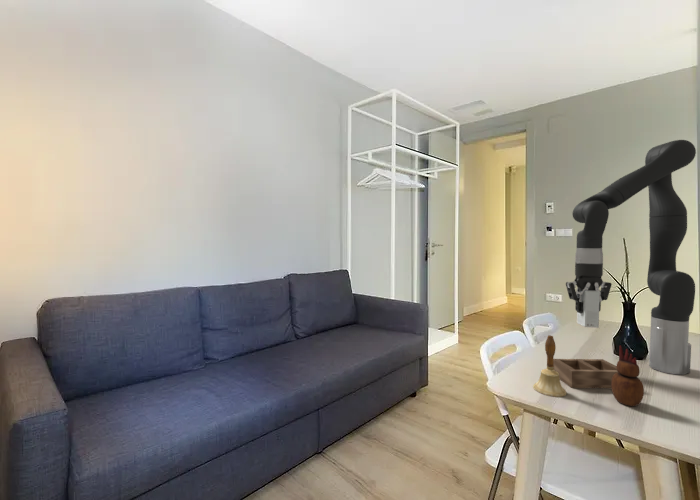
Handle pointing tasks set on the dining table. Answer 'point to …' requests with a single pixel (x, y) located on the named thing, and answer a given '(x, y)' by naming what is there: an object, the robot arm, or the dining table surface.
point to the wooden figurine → (627, 380)
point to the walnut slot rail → (585, 372)
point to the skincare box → (589, 310)
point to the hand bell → (550, 374)
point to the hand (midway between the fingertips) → (587, 312)
